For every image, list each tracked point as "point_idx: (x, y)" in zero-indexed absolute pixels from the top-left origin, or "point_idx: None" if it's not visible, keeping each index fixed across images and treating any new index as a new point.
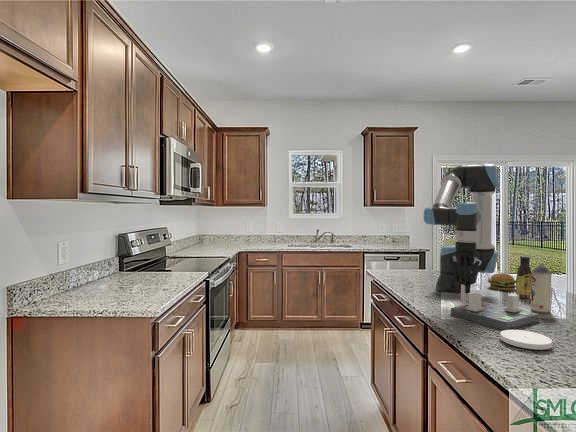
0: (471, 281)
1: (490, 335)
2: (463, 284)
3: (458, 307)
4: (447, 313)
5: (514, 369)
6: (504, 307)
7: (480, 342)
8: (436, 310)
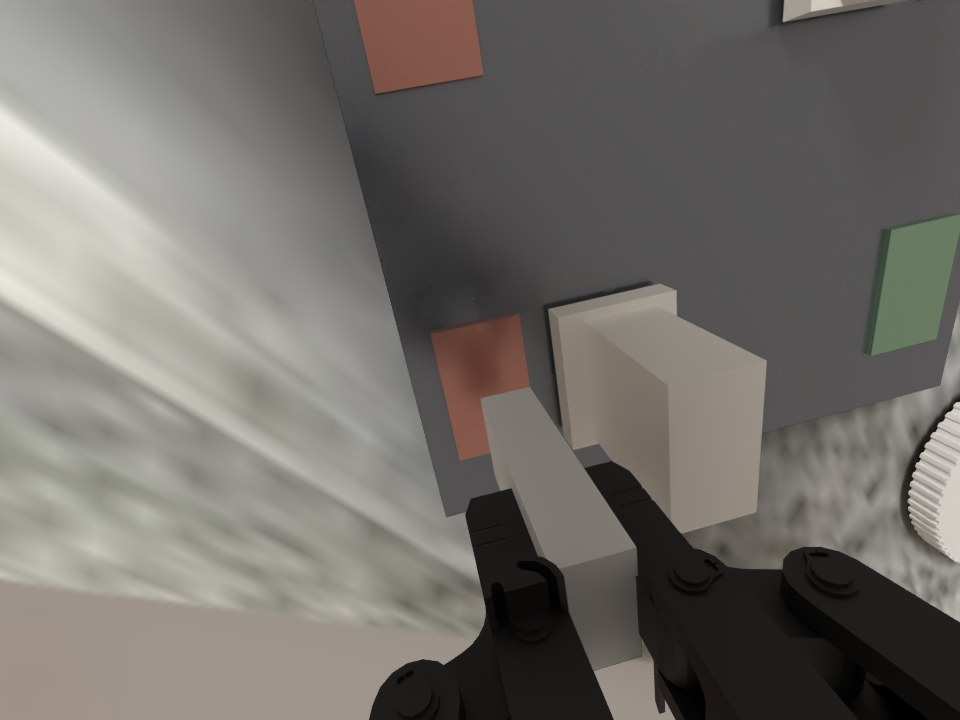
0: (869, 713)
1: (844, 515)
2: (584, 639)
3: (472, 452)
4: (370, 454)
5: None
6: (814, 1)
7: None
8: (246, 484)
